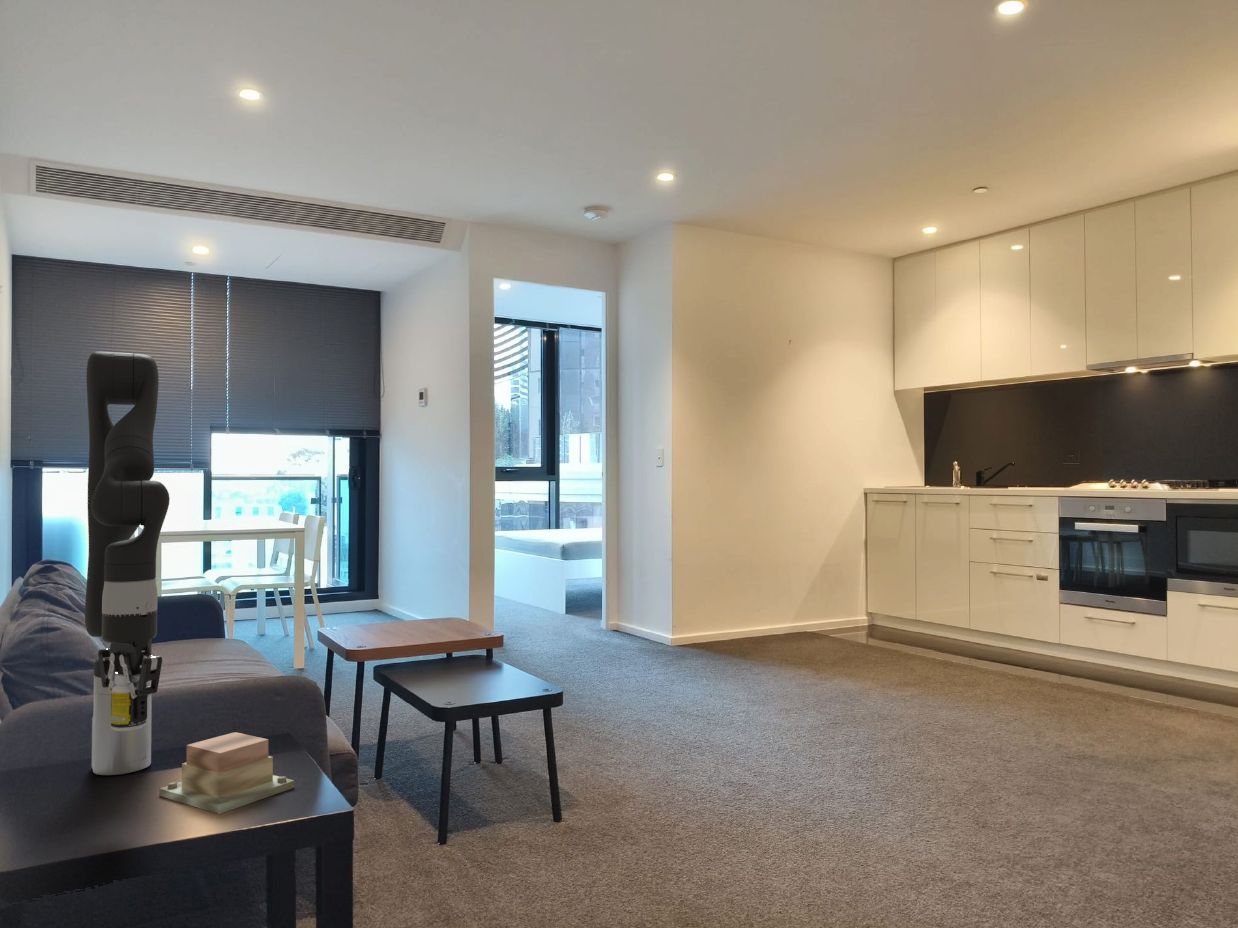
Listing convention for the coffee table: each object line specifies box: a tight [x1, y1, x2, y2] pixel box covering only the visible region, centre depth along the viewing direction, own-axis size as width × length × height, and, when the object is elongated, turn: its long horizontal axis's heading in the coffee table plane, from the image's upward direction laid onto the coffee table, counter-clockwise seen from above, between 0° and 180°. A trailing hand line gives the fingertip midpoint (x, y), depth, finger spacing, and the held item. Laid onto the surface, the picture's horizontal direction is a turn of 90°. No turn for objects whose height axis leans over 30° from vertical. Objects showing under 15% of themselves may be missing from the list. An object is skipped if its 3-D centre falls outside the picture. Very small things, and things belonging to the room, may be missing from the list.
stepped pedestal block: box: [158, 731, 295, 815], centre depth 147 cm, size 16×14×8 cm
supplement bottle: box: [111, 674, 146, 731], centre depth 136 cm, size 5×5×8 cm
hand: (129, 718), depth 136 cm, fingers closed on supplement bottle, 4 cm apart
